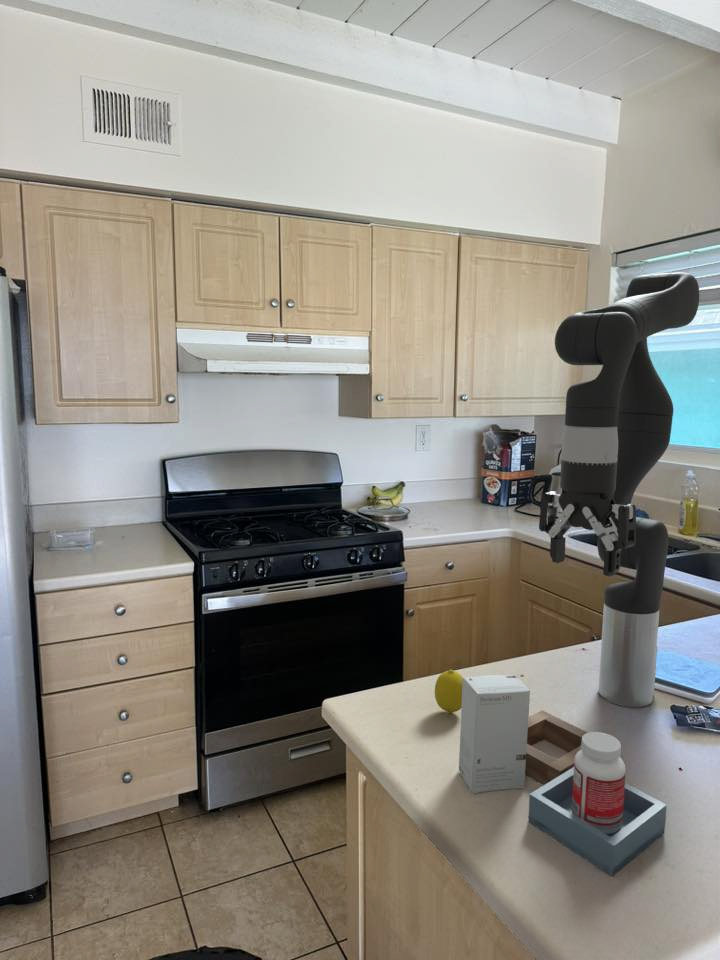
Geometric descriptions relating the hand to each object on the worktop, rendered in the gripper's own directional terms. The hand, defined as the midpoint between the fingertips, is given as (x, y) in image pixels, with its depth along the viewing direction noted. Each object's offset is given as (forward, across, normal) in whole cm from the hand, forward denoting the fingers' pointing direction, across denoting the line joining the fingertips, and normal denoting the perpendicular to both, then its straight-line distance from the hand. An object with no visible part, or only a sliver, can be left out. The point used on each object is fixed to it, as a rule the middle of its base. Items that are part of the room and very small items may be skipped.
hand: (582, 568), depth 95 cm
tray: (+30, -11, +11) cm, 34 cm away
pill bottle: (+29, -11, +11) cm, 33 cm away
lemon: (+30, +21, +5) cm, 37 cm away
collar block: (+30, +2, +3) cm, 30 cm away
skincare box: (+30, +4, +14) cm, 34 cm away
